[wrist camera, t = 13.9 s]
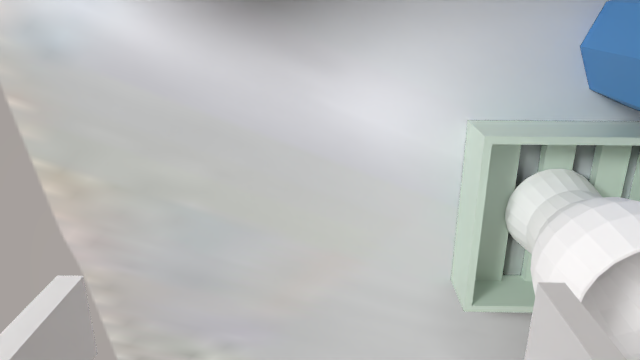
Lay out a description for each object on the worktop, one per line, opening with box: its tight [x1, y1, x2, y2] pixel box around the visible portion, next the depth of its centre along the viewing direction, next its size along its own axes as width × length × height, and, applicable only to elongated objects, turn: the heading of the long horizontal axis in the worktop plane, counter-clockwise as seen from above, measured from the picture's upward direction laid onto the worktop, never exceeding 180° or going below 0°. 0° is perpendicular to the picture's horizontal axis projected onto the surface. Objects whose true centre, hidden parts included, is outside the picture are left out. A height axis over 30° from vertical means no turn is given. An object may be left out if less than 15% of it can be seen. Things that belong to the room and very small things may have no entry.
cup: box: [505, 169, 640, 360], centre depth 36 cm, size 11×11×15 cm
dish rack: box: [451, 120, 640, 313], centre depth 42 cm, size 15×15×5 cm
